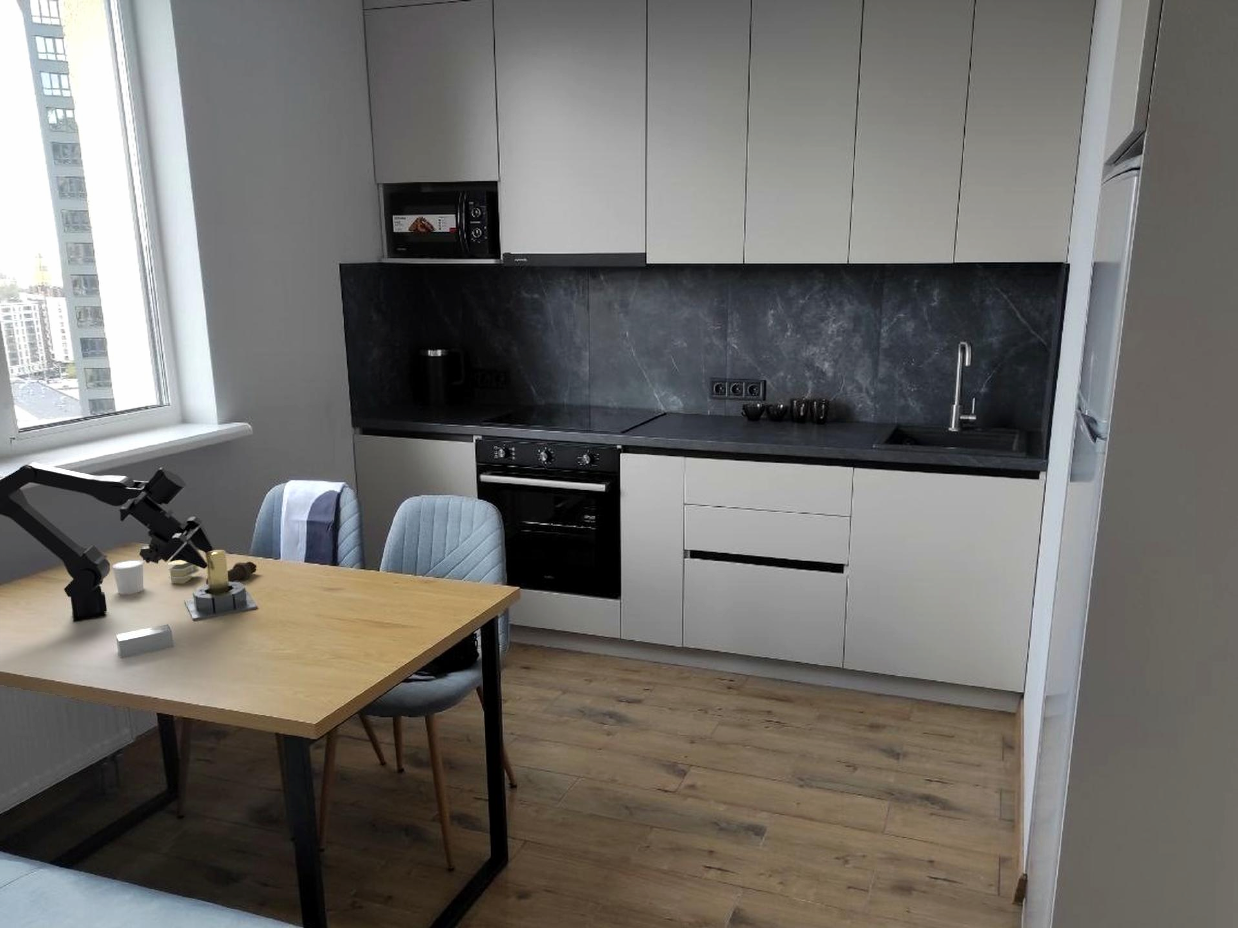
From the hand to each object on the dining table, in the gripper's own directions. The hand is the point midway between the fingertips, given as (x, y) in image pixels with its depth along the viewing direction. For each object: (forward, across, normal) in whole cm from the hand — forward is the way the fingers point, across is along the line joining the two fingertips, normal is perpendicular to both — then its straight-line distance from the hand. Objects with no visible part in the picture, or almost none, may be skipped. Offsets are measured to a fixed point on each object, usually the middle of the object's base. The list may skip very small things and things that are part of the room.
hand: (210, 561), depth 219 cm
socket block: (+9, 0, -7) cm, 11 cm away
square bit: (+2, +24, -14) cm, 28 cm away
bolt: (+10, -17, -7) cm, 20 cm away
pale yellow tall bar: (+8, 0, -6) cm, 11 cm away
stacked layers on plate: (0, -23, -17) cm, 28 cm away
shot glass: (-8, -16, -25) cm, 31 cm away
